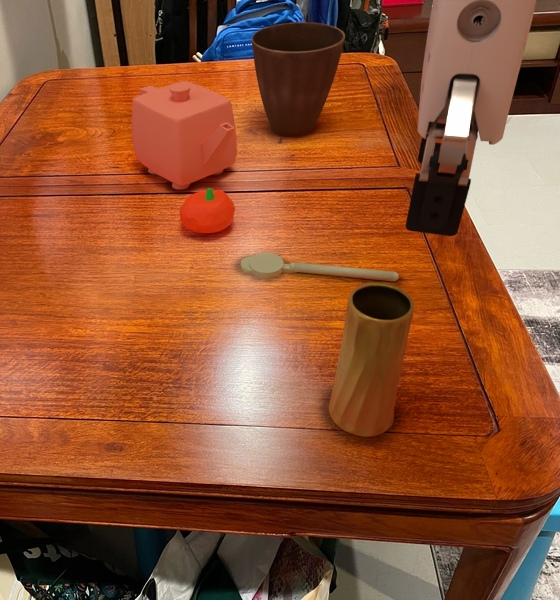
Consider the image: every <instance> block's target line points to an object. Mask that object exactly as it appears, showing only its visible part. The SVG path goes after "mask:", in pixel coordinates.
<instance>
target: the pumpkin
mask: <svg viewBox="0 0 560 600" xmlns="http://www.w3.org/2000/svg"><path fill="white" fill-rule="evenodd" d="M235 211H236V206H235V204H234V201H233V200H232V198H231V197H230V196H229V195H228V194H227V193H226V192H225V191H223V190H222V189H213V188H212V187H211V188H209V187H207V188H206V189H204V190H201V191H197V192H194V193H192V194H190V195H189V196H187V197H186V199H185V200H184V202H183V203H182V205H181V206H180V208H179V221H180V222H181V224H182V225H183V226H184V227H185V228H186V229H187V230H189V231H192V232H194V233H197V234H214V233H219V232H222V231H224V230H226V229H227V228H228V227H229V226H231V225H232V222H233V221H234V216H235Z"/></svg>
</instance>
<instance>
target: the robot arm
mask: <svg viewBox="0 0 560 600" xmlns="http://www.w3.org/2000/svg"><path fill="white" fill-rule="evenodd" d="M536 5H537V0H432V5H431V9H430V10H431V11H430V16H429V23H428V29H427V34H426V35H427V36H426V43H425V49H424V55H423V64H422V73H421V82H420V91H419V105H418V106H419V107H418V116H417V119H418V120H417V131H416V132H417V133H418V134H419V135H420V136H421V141H420V146H419V151H418V156H417V161H418V163H419V164H421V168H420V172H419V173H418V172H416V173H415V175H414V180H413V181H414V182H413V187H412V191H411V197H410V200H409V201H410V202H409V206H408V211H407V215H406V220H405V228H406V230H407V231H408V232H409V231H410V232H416V233H421V234H430V235H438V236H445V237H454V236H456V235H458V232H459V228H460V226H461V221H462V217H463V213H464V211H465V207H466V202H467V199H468V194H469V191H470V187H471V183H472V178H470V175H471V171H472V170H471V169H472V165H473V160H474V156H475V155H474V154H475V150H476V145H477V140H478V138H479V141H480V142H488V144H489V145H492V146H494V145H496V144H498V143H499V142H500V141H502V140H503V139H504V134H505V130H506V126H507V121H508V118H509V114H510V109H511V104H512V101H513V98H514V92H515V89H516V86H517V81H518V76H519V73H520V70H521V65H522V62H523V59H524V54H525V50H526V46H527V43H528V37H529V34H530V30H531V26H532V21H533V18H534V13H535V10H536Z"/></svg>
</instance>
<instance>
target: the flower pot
mask: <svg viewBox="0 0 560 600" xmlns="http://www.w3.org/2000/svg"><path fill="white" fill-rule="evenodd" d="M345 39H346V34H345V32H344V31H343V30H341V29H340V28H338V27H336V26H333V25H330V24H325V23H320V22H311V21H310V22H309V21H307V22H306V21H298V22H296V21H295V22H285V23H278V24H273V25H270V26H266V27H263V28H260V29H258V30H257V31H256V32H254V33H253V34H252V36H251V47H252V54H253V63H254V69H255V76H256V80H257V81H256V82H257V86H258V90H259V95H260V99H261V102H262V106H263V109H264V112H265V115H266V118H267V121H268V124H269V127H270V130H271V131H272V132H273V133H274V134H276V135H278V136H282V137H288V138H289V137H290V138H294V137H295V138H296V137H302V136H306V135H308V134H310V133H311V132H313V130H314V129H315V126H316V124H317V122H318V120H319V118H320V116H321V114H322V112H323V109H324V106H325V104H326V102H327V99H328V97H329V94H330V91H331V90H332V86H333V83H334V79H335V77H336V74H337V70H338V67H339V63H340V60H341V56H342V52H343V48H344V44H345Z"/></svg>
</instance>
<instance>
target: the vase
mask: <svg viewBox="0 0 560 600" xmlns="http://www.w3.org/2000/svg"><path fill="white" fill-rule="evenodd" d="M345 311H346V312H345V316H344V317H345V318H344V325H343V331H342V338H341V344H340V349H339V355H338V360H337V365H336V370H335V375H334V379H333V385H332V389H331V396H330V398H329V399H330V400H329V402H328V413H329V416H330V418H331V420H332V421H333V423H334V424H335V425H336V426H337V427H338V428H340V429H341V430H342V431H344V432H346V433H348V434H351V435H353V436H357V437H364V438H365V437H366V438H368V437H369V438H371V437H377V436H379V435H382V434H384V433H385V432H387V431H388V430H389V429H390V428H391V427H392V425H393V423H394V420H395V405H396V400H397V395H398V389H399V385H400V384H399V383H400V379H401V375H402V370H403V364H404V360H405V356H406V355H405V354H406V350H407V349H406V348H407V345H408V339H409V334H410V329H411V324H412V321H413V316H414V312H415V303H414V300H413V298H412V296H411V295H410V294H408V292H407V291H406V290H404V289H402V288H401V287H399V286H396V285H394V284H389V283H384V282H367V283H364V284H361V285H358V286H356V287H354V288H353V289H352V290H351V292H350V293H349V296H348V299H347V304H346V310H345Z"/></svg>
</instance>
